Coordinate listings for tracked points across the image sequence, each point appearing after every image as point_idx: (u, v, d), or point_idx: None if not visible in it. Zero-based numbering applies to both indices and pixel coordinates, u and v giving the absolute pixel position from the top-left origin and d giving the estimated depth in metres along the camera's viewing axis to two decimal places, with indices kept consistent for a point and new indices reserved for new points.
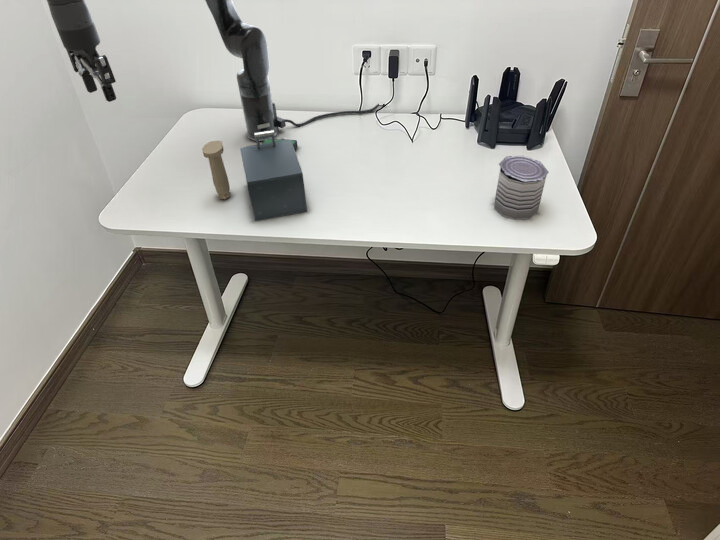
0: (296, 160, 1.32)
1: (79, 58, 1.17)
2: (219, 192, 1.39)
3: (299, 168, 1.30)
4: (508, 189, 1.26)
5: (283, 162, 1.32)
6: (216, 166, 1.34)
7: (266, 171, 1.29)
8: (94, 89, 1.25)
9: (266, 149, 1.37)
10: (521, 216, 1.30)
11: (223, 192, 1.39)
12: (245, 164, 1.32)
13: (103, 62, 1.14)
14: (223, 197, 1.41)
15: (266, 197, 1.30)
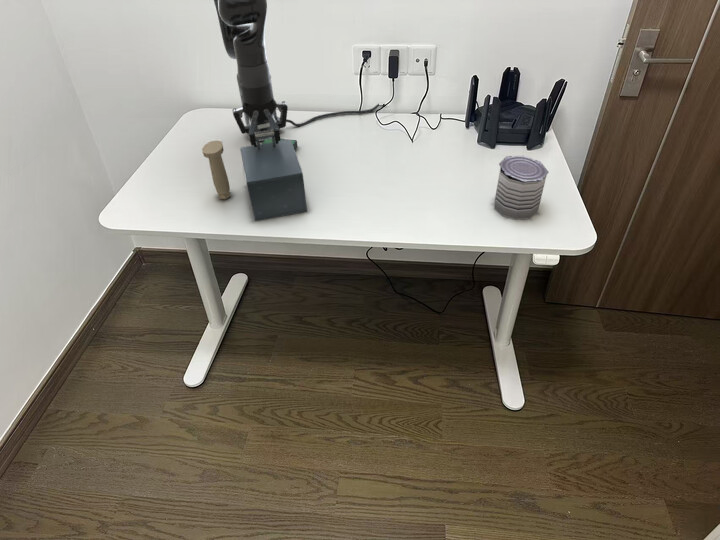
0: (296, 160, 1.32)
1: (257, 111, 1.29)
2: (219, 192, 1.39)
3: (299, 168, 1.30)
4: (508, 189, 1.26)
5: (283, 162, 1.32)
6: (216, 166, 1.34)
7: (266, 171, 1.29)
8: None
9: (266, 149, 1.37)
10: (521, 216, 1.30)
11: (223, 192, 1.39)
12: (245, 164, 1.32)
13: None
14: (223, 197, 1.41)
15: (266, 197, 1.30)
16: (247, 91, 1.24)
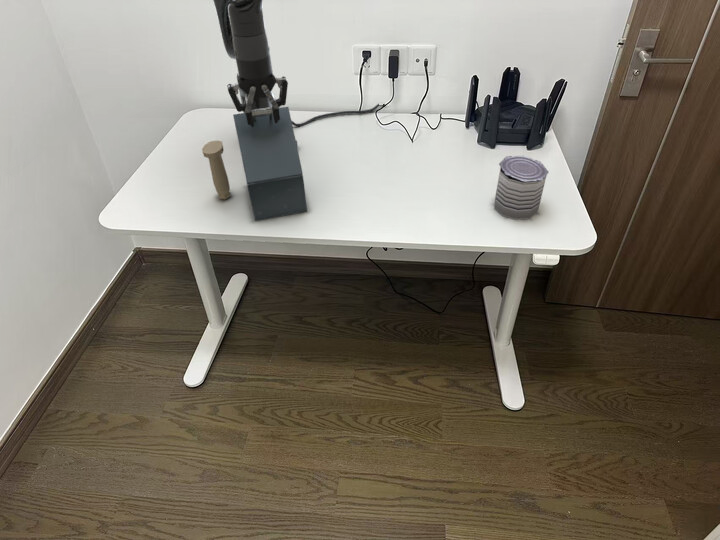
0: (295, 149, 1.29)
1: (255, 87, 1.18)
2: (219, 192, 1.39)
3: (299, 165, 1.28)
4: (508, 189, 1.26)
5: (282, 150, 1.28)
6: (216, 166, 1.34)
7: (265, 166, 1.27)
8: None
9: (262, 123, 1.28)
10: (521, 216, 1.30)
11: (223, 192, 1.39)
12: (242, 149, 1.27)
13: None
14: (223, 197, 1.41)
15: (266, 197, 1.30)
16: (243, 64, 1.13)
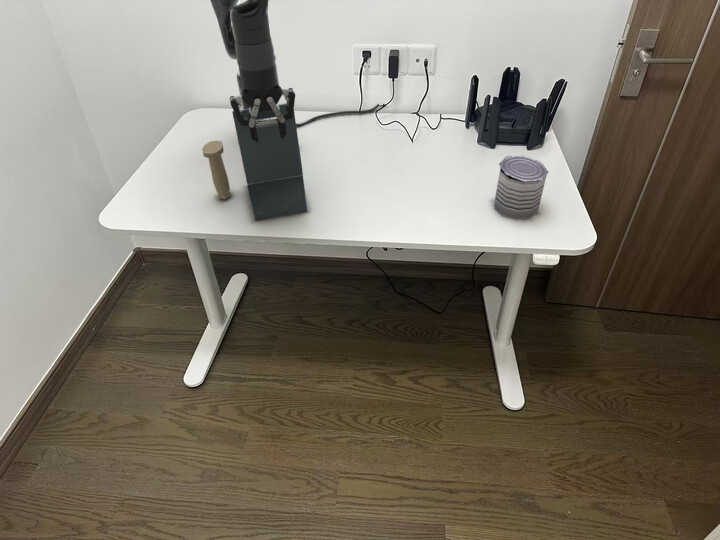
0: (297, 151, 1.24)
1: (260, 99, 1.08)
2: (219, 192, 1.39)
3: (300, 166, 1.27)
4: (508, 189, 1.26)
5: (283, 152, 1.24)
6: (216, 166, 1.34)
7: (266, 168, 1.25)
8: None
9: None
10: (521, 216, 1.30)
11: (223, 192, 1.39)
12: (242, 150, 1.21)
13: None
14: (223, 197, 1.41)
15: (266, 197, 1.30)
16: (247, 75, 1.03)
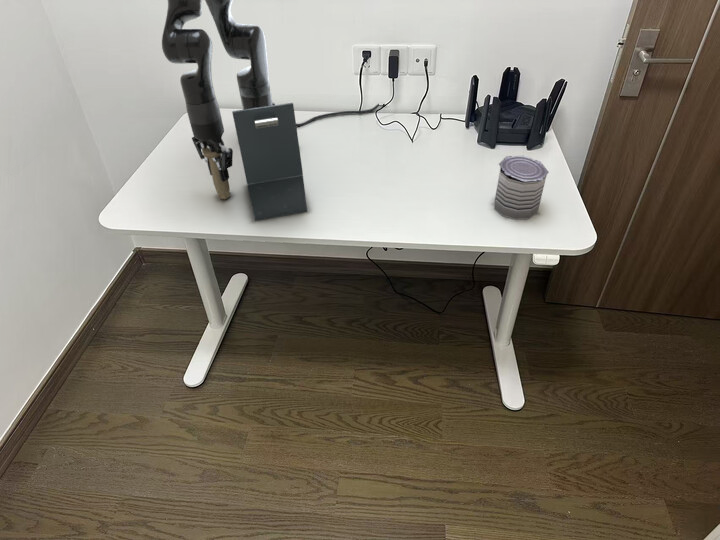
0: (297, 151, 1.24)
1: (204, 144, 1.31)
2: (219, 192, 1.39)
3: (300, 166, 1.27)
4: (508, 189, 1.26)
5: (283, 152, 1.24)
6: (216, 166, 1.34)
7: (266, 168, 1.25)
8: None
9: None
10: (521, 216, 1.30)
11: (223, 192, 1.39)
12: (242, 150, 1.21)
13: (229, 154, 1.29)
14: (223, 197, 1.41)
15: (266, 197, 1.30)
16: None
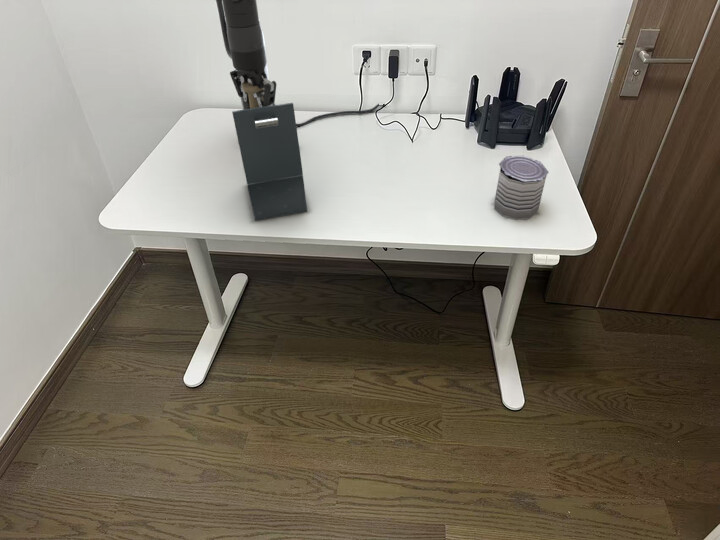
0: (297, 151, 1.24)
1: (245, 78, 1.19)
2: None
3: (300, 166, 1.27)
4: (508, 189, 1.26)
5: (283, 152, 1.24)
6: (256, 104, 1.22)
7: (266, 168, 1.25)
8: None
9: None
10: (521, 216, 1.30)
11: None
12: (242, 150, 1.21)
13: (272, 88, 1.17)
14: None
15: (266, 197, 1.30)
16: (230, 51, 1.15)
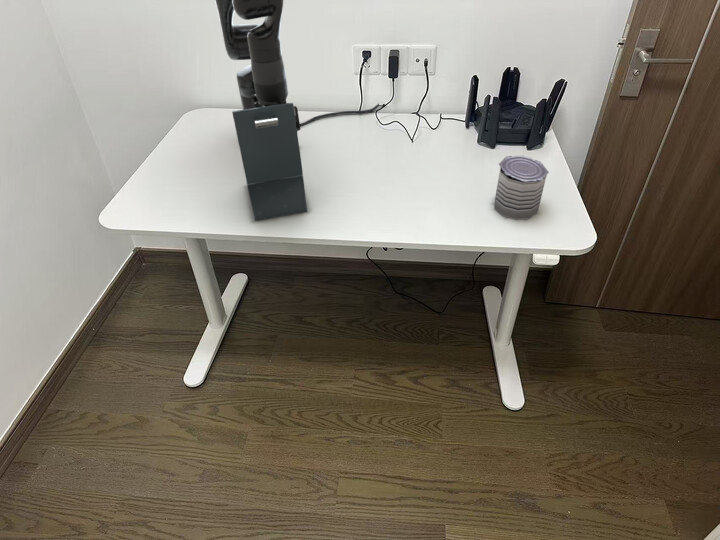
0: (297, 151, 1.24)
1: None
2: None
3: (300, 166, 1.27)
4: (508, 189, 1.26)
5: (283, 152, 1.24)
6: None
7: (266, 168, 1.25)
8: None
9: None
10: (521, 216, 1.30)
11: None
12: (242, 150, 1.21)
13: None
14: None
15: (266, 197, 1.30)
16: (254, 83, 1.21)
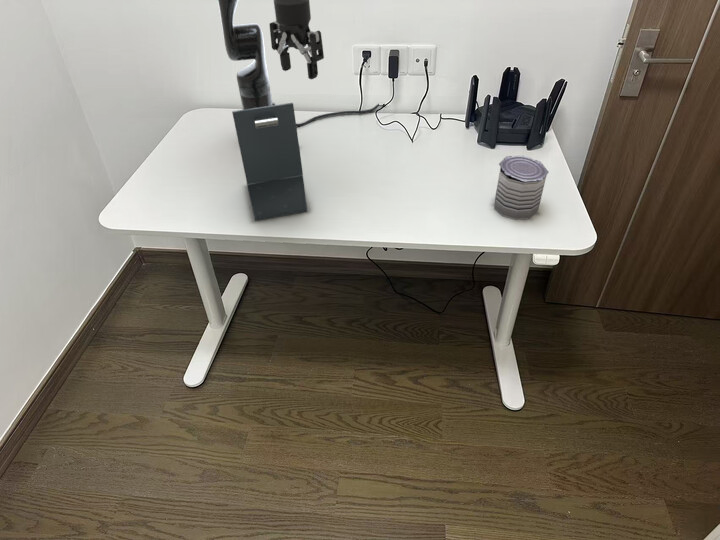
0: (297, 151, 1.24)
1: (287, 34, 1.15)
2: None
3: (300, 166, 1.27)
4: (508, 189, 1.26)
5: (283, 152, 1.24)
6: None
7: (266, 168, 1.25)
8: (288, 67, 1.23)
9: None
10: (521, 216, 1.30)
11: None
12: (242, 150, 1.21)
13: (317, 38, 1.12)
14: None
15: (266, 197, 1.30)
16: (274, 5, 1.11)
